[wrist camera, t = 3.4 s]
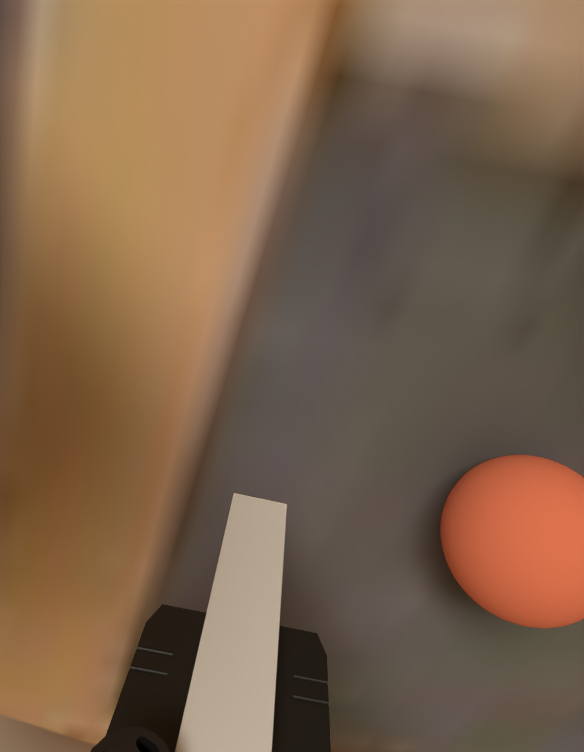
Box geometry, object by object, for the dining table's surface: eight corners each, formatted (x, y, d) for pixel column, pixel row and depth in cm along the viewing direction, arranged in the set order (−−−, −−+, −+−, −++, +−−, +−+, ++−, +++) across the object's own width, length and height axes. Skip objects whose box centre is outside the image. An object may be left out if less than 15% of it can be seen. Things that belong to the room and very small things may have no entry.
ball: (405, 528, 20) (440, 650, 15) (454, 411, 18) (513, 509, 13) (532, 554, 20) (607, 682, 15) (594, 443, 18) (705, 549, 13)
